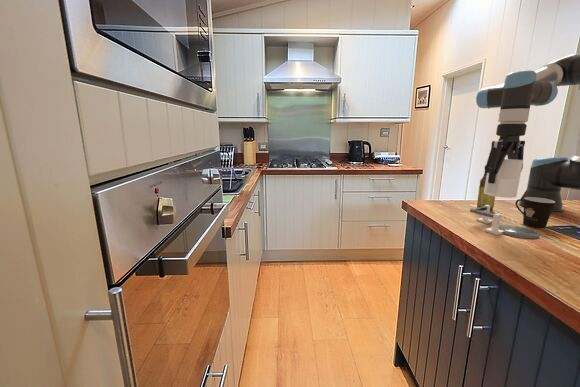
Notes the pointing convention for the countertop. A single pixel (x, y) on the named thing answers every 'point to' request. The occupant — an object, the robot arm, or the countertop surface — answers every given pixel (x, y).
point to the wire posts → (495, 222)
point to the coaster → (518, 232)
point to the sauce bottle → (484, 195)
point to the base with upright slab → (507, 179)
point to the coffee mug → (536, 211)
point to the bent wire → (479, 211)
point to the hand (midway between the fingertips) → (500, 191)
